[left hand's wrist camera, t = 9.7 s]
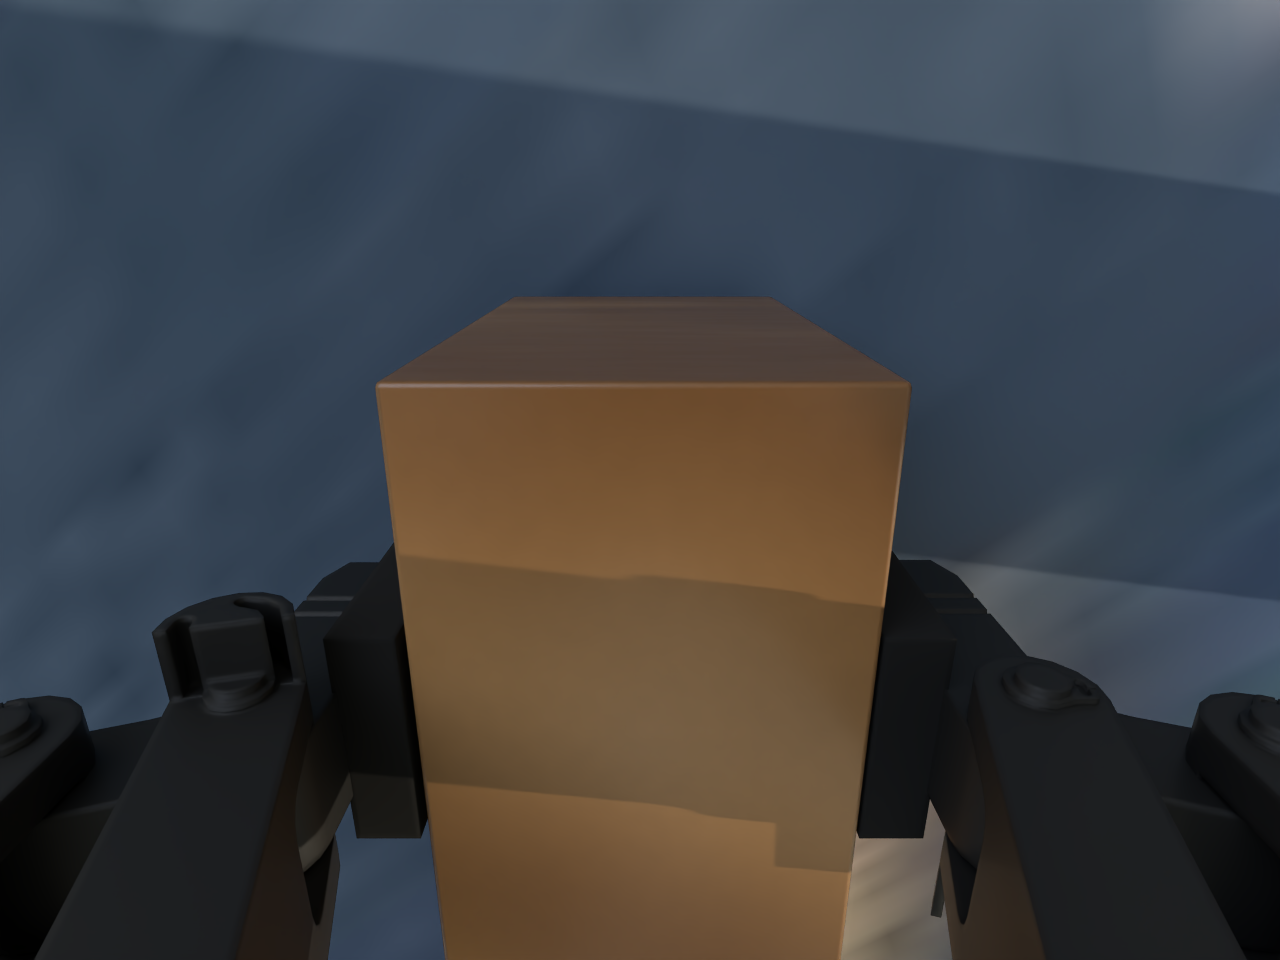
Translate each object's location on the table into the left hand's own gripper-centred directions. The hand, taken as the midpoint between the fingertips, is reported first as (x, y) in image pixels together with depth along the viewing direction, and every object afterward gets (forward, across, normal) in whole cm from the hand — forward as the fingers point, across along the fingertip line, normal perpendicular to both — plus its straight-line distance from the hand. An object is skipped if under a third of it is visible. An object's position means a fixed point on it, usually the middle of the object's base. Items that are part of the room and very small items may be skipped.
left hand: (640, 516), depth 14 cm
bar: (+1, 0, -32) cm, 32 cm away
